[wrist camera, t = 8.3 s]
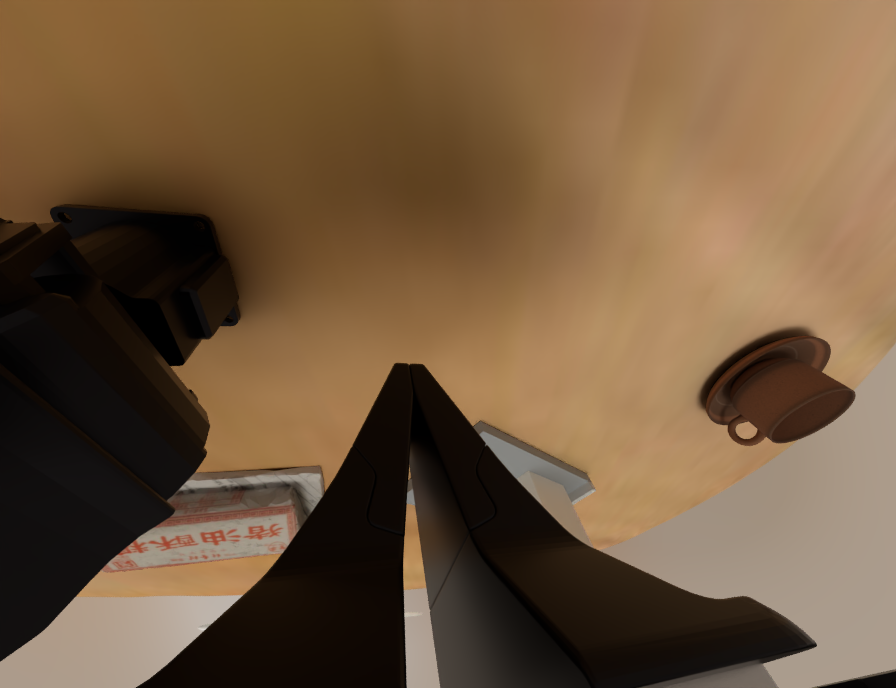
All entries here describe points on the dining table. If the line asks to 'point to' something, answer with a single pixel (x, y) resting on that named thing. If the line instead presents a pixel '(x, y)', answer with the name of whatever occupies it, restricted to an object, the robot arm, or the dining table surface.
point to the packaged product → (227, 518)
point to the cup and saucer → (779, 392)
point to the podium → (530, 464)
